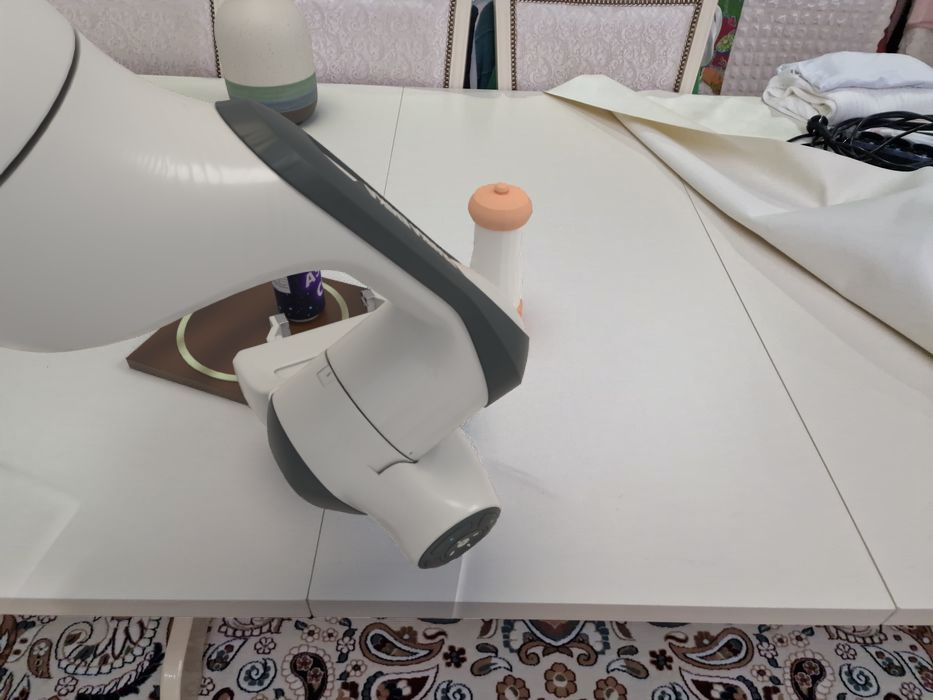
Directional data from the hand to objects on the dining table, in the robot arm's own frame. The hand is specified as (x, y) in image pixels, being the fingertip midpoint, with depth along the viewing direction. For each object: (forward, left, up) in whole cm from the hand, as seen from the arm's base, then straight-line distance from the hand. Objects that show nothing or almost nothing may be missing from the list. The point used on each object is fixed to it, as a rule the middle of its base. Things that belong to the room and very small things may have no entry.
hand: (323, 306), depth 62 cm
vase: (-47, +62, -11) cm, 78 cm away
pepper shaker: (+13, +17, -11) cm, 24 cm away
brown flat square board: (-12, +5, -11) cm, 17 cm away
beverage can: (-9, +8, -9) cm, 15 cm away
